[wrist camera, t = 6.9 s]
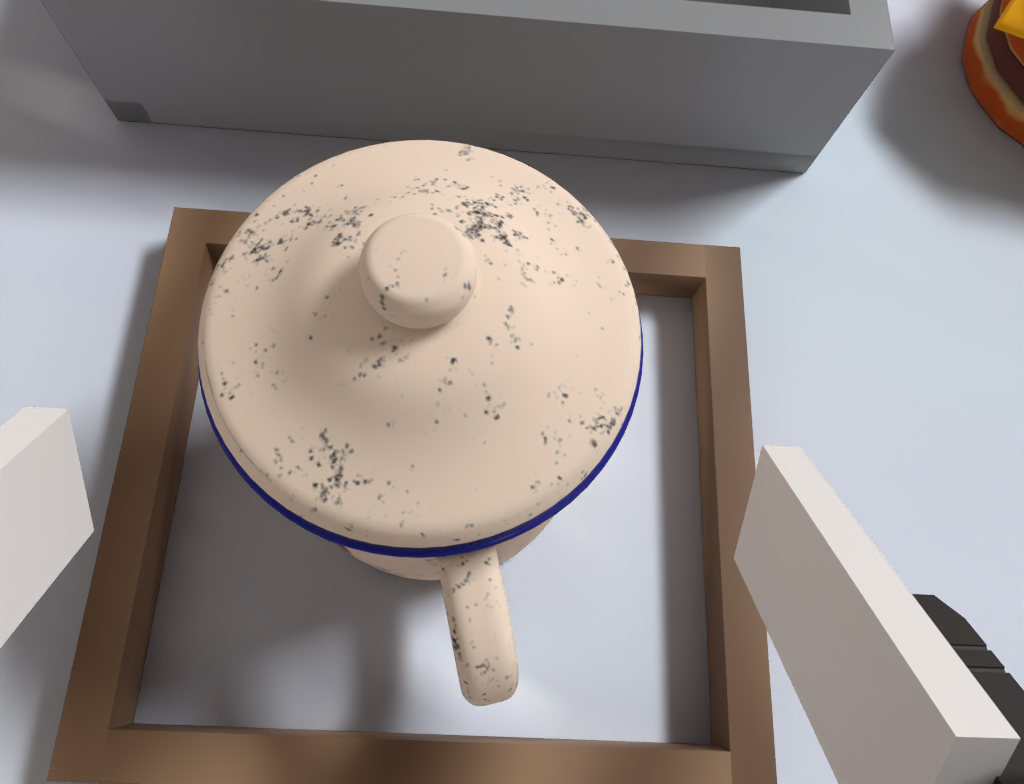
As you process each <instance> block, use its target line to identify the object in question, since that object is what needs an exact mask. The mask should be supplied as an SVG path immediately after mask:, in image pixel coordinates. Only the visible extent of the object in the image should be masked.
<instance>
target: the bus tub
mask: <svg viewBox="0 0 1024 784" xmlns="http://www.w3.org/2000/svg"><path fill="white" fill-rule="evenodd" d="M41 2H42V3H43V5H44V6H45V8H46V9H47V11H48V13H49V14H50V16H51V17H52V19H53V20H54V22H55V23H56V25H57V26H58V28H59V29H60V31H61V33H62V34H63V36H64V37H65V39H66V40H67V42H68V43H69V45H70V46H71V48H72V50H73V51H74V53H75V54H76V56H77V57H78V59H79V60H80V62H81V63H82V65H83V67H84V68H85V70H86V71H87V73H88V74H89V76H90V77H91V79H92V80H93V82H94V83H95V85H96V87H97V88H98V90H99V91H100V93H101V94H102V96H103V97H104V99H105V100H106V102H107V104H108V105H109V107H110V108H111V110H112V111H113V113H114V114H115V116H116V117H117V119H118V120H124V121H137V122H150V123H163V124H176V125H189V126H202V127H215V128H228V129H241V130H254V131H267V132H280V133H293V134H306V135H319V136H332V137H345V138H358V139H371V140H385V141H406V140H435V141H448V142H455V143H462V144H468V145H472V146H476V147H480V148H489V149H502V150H515V151H528V152H541V153H554V154H567V155H580V156H593V157H606V158H619V159H632V160H645V161H658V162H671V163H684V164H697V165H710V166H723V167H736V168H749V169H762V170H775V171H788V172H801V173H805V172H806V171H807V170H808V168H809V167H810V166H811V164H812V163H813V161H814V160H815V159H816V157H817V156H818V155H819V153H820V152H821V151H822V149H823V148H824V146H825V145H826V144H827V142H828V141H829V140H830V138H831V137H832V135H833V134H834V133H835V131H836V130H837V129H838V127H839V126H840V124H841V123H842V122H843V120H844V119H845V118H846V116H847V115H848V114H849V112H850V111H851V109H852V108H853V107H854V105H855V104H856V103H857V101H858V100H859V98H860V97H861V96H862V94H863V93H864V92H865V90H866V89H867V87H868V86H869V85H870V83H871V82H872V81H873V79H874V78H875V77H876V75H877V74H878V72H879V71H880V70H881V68H882V67H883V66H884V64H885V63H886V61H887V60H888V59H889V57H890V56H891V55H892V53H893V52H894V50H895V47H894V41H893V35H892V29H891V23H890V17H889V11H888V5H887V0H41Z"/></svg>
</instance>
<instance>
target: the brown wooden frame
mask: <svg viewBox="0 0 1024 784" xmlns="http://www.w3.org/2000/svg"><path fill="white" fill-rule="evenodd" d="M250 214H251V213H248V212H234V211H220V210H206V209H192V208H178V207H174V211H173V216H172V220H171V225H170V229H169V234H168V238H167V243H166V247H165V252H164V256H163V261H162V265H161V270H160V274H159V279H158V283H157V288H156V292H155V297H154V302H153V306H152V311H151V315H150V320H149V324H148V329H147V333H146V338H145V342H144V347H143V351H142V356H141V360H140V365H139V369H138V374H137V378H136V383H135V387H134V392H133V396H132V401H131V405H130V410H129V414H128V419H127V423H126V428H125V432H124V437H123V441H122V446H121V450H120V455H119V459H118V464H117V468H116V473H115V477H114V482H113V486H112V491H111V496H110V500H109V505H108V509H107V514H106V518H105V523H104V527H103V532H102V536H101V541H100V545H99V550H98V554H97V559H96V563H95V568H94V572H93V577H92V581H91V586H90V590H89V595H88V599H87V604H86V608H85V613H84V617H83V622H82V626H81V631H80V635H79V640H78V644H77V649H76V653H75V658H74V662H73V667H72V671H71V676H70V680H69V685H68V690H67V694H66V699H65V703H64V708H63V712H62V717H61V721H60V726H59V730H58V735H57V739H56V744H55V748H54V753H53V757H52V762H51V766H50V771H49V775H48V780H47V781H71V782H101V783H132V784H777V775H776V761H775V746H774V732H773V718H772V703H771V689H770V675H769V660H768V646H767V631H766V626H765V624H764V622H763V620H762V618H761V616H760V614H759V611H758V609H757V607H756V605H755V603H754V601H753V599H752V596H751V594H750V592H749V590H748V588H747V586H746V584H745V581H744V579H743V577H742V575H741V573H740V571H739V568H738V566H737V564H736V562H735V560H734V555H735V551H736V547H737V543H738V539H739V535H740V531H741V527H742V524H743V520H744V516H745V512H746V508H747V504H748V500H749V496H750V492H751V488H752V484H753V481H754V477H755V459H754V445H753V430H752V416H751V402H750V387H749V373H748V358H747V344H746V330H745V315H744V301H743V287H742V272H741V258H740V248H739V247H725V246H711V245H697V244H683V243H669V242H655V241H641V240H627V239H613V238H610V240H611V241H612V243H613V245H614V246H615V248H616V250H617V251H618V253H619V255H620V257H621V259H622V261H623V264H624V266H625V268H626V270H627V272H628V275H629V278H630V281H631V284H632V286H633V289H634V294H642V295H657V296H671V297H686V298H692V305H693V328H694V350H695V373H696V395H697V418H698V441H699V463H700V486H701V508H702V531H703V553H704V576H705V598H706V621H707V644H708V666H709V689H710V711H711V734H712V745H707V744H680V743H652V742H625V741H598V740H571V739H544V738H516V737H489V736H462V735H435V734H407V733H380V732H353V731H326V730H299V729H271V728H244V727H217V726H190V725H163V724H135V723H133V720H134V714H135V709H136V704H137V699H138V694H139V688H140V683H141V678H142V673H143V668H144V662H145V657H146V652H147V647H148V641H149V636H150V631H151V626H152V621H153V615H154V610H155V605H156V600H157V595H158V589H159V584H160V579H161V574H162V569H163V563H164V558H165V553H166V548H167V542H168V537H169V532H170V527H171V522H172V516H173V511H174V506H175V501H176V496H177V490H178V485H179V480H180V475H181V470H182V464H183V459H184V454H185V449H186V443H187V438H188V433H189V428H190V423H191V417H192V412H193V407H194V402H195V397H196V391H197V386H198V381H199V373H198V336H199V323H200V317H201V312H202V306H203V302H204V298H205V295H206V291H207V288H208V285H209V282H210V280H211V277H212V275H213V272H214V270H215V267H216V265H217V263H218V261H219V259H220V258H221V256H222V254H223V252H224V250H225V248H226V247H227V245H228V244H229V242H230V241H231V239H232V238H233V236H234V235H235V233H236V232H237V230H238V229H239V228H240V226H241V225H242V224H243V223H244V222H245V220H246V219H247V218H248V217H249V216H250Z"/></svg>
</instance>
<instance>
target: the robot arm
mask: <svg viewBox="0 0 1024 784" xmlns="http://www.w3.org/2000/svg"><path fill="white" fill-rule="evenodd" d="M93 531H94V527H93V523H92V518H91V513H90V508H89V504H88V499H87V494H86V489H85V485H84V480H83V475H82V470H81V466H80V461H79V456H78V451H77V447H76V442H75V437H74V432H73V427H72V423H71V418H70V413H69V409H63V408H44V407H25V408H23V409H22V410H21V411H20V412H18V413H17V414H16V415H15V416H13V417H12V418H11V419H10V420H8V421H7V422H6V423H5V424H3V425H2V426H1V427H0V648H1V647H2V646H3V644H4V643H5V642H6V641H7V639H8V638H9V637H10V636H11V634H12V633H13V632H14V631H15V629H16V628H17V627H18V626H19V624H20V623H21V622H22V621H23V619H24V618H25V617H26V616H27V614H28V613H29V612H30V610H31V609H32V608H33V607H34V605H35V604H36V603H37V602H38V600H39V599H40V598H41V597H42V595H43V594H44V593H45V592H46V590H47V589H48V588H49V587H50V585H51V584H52V583H53V582H54V580H55V579H56V578H57V577H58V575H59V574H60V573H61V572H62V570H63V569H64V568H65V567H66V565H67V564H68V563H69V562H70V560H71V559H72V558H73V556H74V555H75V554H76V553H77V551H78V550H79V549H80V548H81V546H82V545H83V544H84V543H85V541H86V540H87V539H88V538H89V536H90V535H91V534H92V533H93ZM734 560H735V562H736V564H737V566H738V568H739V571H740V573H741V575H742V577H743V579H744V581H745V584H746V586H747V588H748V590H749V592H750V594H751V596H752V599H753V601H754V603H755V605H756V607H757V609H758V611H759V614H760V616H761V618H762V620H763V622H764V624H765V626H766V629H767V631H768V633H769V635H770V637H771V639H772V642H773V644H774V646H775V648H776V650H777V652H778V654H779V657H780V659H781V661H782V663H783V665H784V667H785V669H786V672H787V674H788V676H789V678H790V680H791V682H792V685H793V687H794V689H795V691H796V693H797V695H798V697H799V700H800V702H801V704H802V706H803V708H804V710H805V712H806V715H807V717H808V719H809V721H810V723H811V725H812V727H813V730H814V732H815V734H816V736H817V738H818V740H819V743H820V745H821V747H822V749H823V751H824V753H825V755H826V758H827V760H828V762H829V764H830V766H831V768H832V770H833V773H834V775H835V777H836V779H837V781H838V783H839V784H1024V690H1023V689H1022V688H1021V687H1020V686H1019V684H1018V683H1017V682H1016V681H1015V679H1014V678H1013V677H1012V676H1011V674H1010V673H1005V670H1004V668H1005V667H1004V666H1003V665H1002V663H1001V662H1000V661H999V660H998V659H997V657H996V656H995V655H994V654H993V652H992V651H991V650H987V648H986V646H987V645H986V644H985V643H984V641H983V640H982V639H981V638H980V636H979V635H978V634H977V633H976V631H975V630H974V629H973V628H972V627H971V625H970V624H969V623H968V622H967V620H966V619H965V618H964V617H962V616H961V615H960V614H958V613H957V612H956V611H954V610H953V609H952V608H950V607H949V606H948V605H946V604H945V603H944V602H942V601H941V600H940V599H938V598H937V597H936V596H934V595H920V594H911V592H910V591H909V590H908V588H907V587H906V586H905V584H904V583H903V582H902V580H901V579H900V578H899V576H898V575H897V574H896V573H895V571H894V570H893V569H892V567H891V566H890V565H889V563H888V562H887V561H886V559H885V558H884V557H883V555H882V554H881V553H880V551H879V550H878V549H877V547H876V546H875V545H874V543H873V542H872V541H871V539H870V538H869V537H868V535H867V534H866V533H865V531H864V530H863V529H862V527H861V526H860V525H859V523H858V522H857V521H856V519H855V518H854V517H853V515H852V514H851V513H850V511H849V510H848V509H847V507H846V506H845V505H844V503H843V502H842V501H841V500H840V498H839V497H838V496H837V494H836V493H835V492H834V490H833V489H832V488H831V486H830V485H829V484H828V482H827V481H826V480H825V478H824V477H823V476H822V474H821V473H820V472H819V470H818V469H817V468H816V466H815V465H814V464H813V462H812V461H811V460H810V458H809V457H808V456H807V454H806V453H805V452H804V450H803V449H802V448H801V447H793V446H773V445H762V449H761V453H760V457H759V461H758V465H757V469H756V473H755V477H754V481H753V484H752V488H751V492H750V496H749V500H748V504H747V508H746V512H745V516H744V520H743V524H742V527H741V531H740V535H739V539H738V543H737V547H736V551H735V555H734Z"/></svg>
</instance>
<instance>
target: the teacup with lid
mask: <svg viewBox="0 0 1024 784" xmlns="http://www.w3.org/2000/svg"><path fill="white" fill-rule="evenodd" d="M642 363H643V334H642V327H641V320H640V314H639V310H638V306H637V301H636V297H635V294H634V289H633V286H632V284H631V281H630V278H629V275H628V272H627V270H626V268H625V266H624V264H623V261H622V259H621V257H620V255H619V253H618V251H617V250H616V248H615V246H614V245H613V243H612V241H611V240H610V238H609V237H608V235H607V234H606V233H605V231H604V230H603V229H602V227H601V226H600V224H599V223H598V222H597V221H596V220H595V218H594V217H593V216H592V215H591V214H590V213H589V212H588V211H587V209H586V208H585V207H584V206H583V205H582V204H581V203H579V202H578V201H577V200H576V199H575V198H574V197H573V196H572V195H571V194H570V193H569V192H567V191H566V190H565V189H563V188H562V187H561V186H559V185H558V184H557V183H556V182H554V181H553V180H551V179H550V178H548V177H547V176H545V175H544V174H542V173H540V172H539V171H537V170H535V169H533V168H531V167H530V166H528V165H526V164H524V163H522V162H520V161H517V160H515V159H513V158H510V157H508V156H506V155H503V154H500V153H497V152H494V151H491V150H488V149H484V148H480V147H476V146H472V145H468V144H462V143H455V142H448V141H435V140H406V141H396V142H387V143H381V144H376V145H370V146H366V147H363V148H359V149H355V150H351V151H348V152H346V153H343V154H340V155H337V156H334V157H332V158H329V159H327V160H325V161H323V162H321V163H319V164H316V165H314V166H312V167H311V168H309V169H307V170H305V171H304V172H302V173H300V174H298V175H297V176H295V177H294V178H292V179H291V180H289V181H288V182H286V183H285V184H284V185H282V186H281V187H280V188H278V189H277V190H276V191H275V192H273V193H272V194H271V195H270V196H269V197H267V198H266V199H265V200H264V201H263V202H262V203H261V204H260V205H259V206H258V207H257V208H256V209H255V210H254V211H253V212H252V213H251V214H250V216H249V217H248V218H247V219H246V220H245V222H244V223H243V224H242V225H241V226H240V228H239V229H238V230H237V232H236V233H235V235H234V236H233V238H232V239H231V241H230V242H229V244H228V245H227V247H226V248H225V250H224V252H223V254H222V256H221V258H220V259H219V261H218V263H217V265H216V267H215V270H214V272H213V275H212V277H211V280H210V282H209V285H208V288H207V291H206V295H205V298H204V302H203V306H202V312H201V317H200V323H199V336H198V373H199V379H200V386H201V393H202V396H203V400H204V404H205V408H206V412H207V415H208V417H209V420H210V422H211V425H212V428H213V430H214V433H215V435H216V437H217V438H218V440H219V442H220V444H221V446H222V448H223V450H224V452H225V454H226V455H227V456H228V458H229V459H230V461H231V462H232V464H233V465H234V467H235V468H236V470H237V471H238V472H239V474H240V475H241V476H242V477H243V478H244V480H245V481H246V482H247V483H248V484H249V485H250V487H251V488H252V489H253V490H254V491H255V492H256V493H257V494H258V495H259V496H261V497H262V498H263V499H264V500H265V501H266V502H267V503H268V504H269V505H270V506H272V507H273V508H274V509H276V510H277V511H278V512H280V513H281V514H282V515H284V516H285V517H286V518H288V519H289V520H291V521H293V522H294V523H296V524H297V525H299V526H301V527H302V528H304V529H306V530H307V531H310V532H312V533H314V534H316V535H318V536H320V537H322V538H324V539H326V540H329V541H332V542H334V543H336V544H338V545H339V546H340V547H341V548H343V549H344V550H345V551H346V552H348V553H349V554H350V555H352V556H353V557H355V558H357V559H358V560H360V561H361V562H363V563H365V564H367V565H369V566H371V567H373V568H375V569H377V570H380V571H383V572H386V573H389V574H392V575H396V576H400V577H404V578H410V579H418V580H441V586H442V591H443V597H444V602H445V608H446V613H447V619H448V624H449V629H450V635H451V640H452V646H453V651H454V656H455V662H456V667H457V672H458V677H459V682H460V687H461V692H462V694H463V696H464V697H465V699H466V700H467V701H468V702H469V703H471V704H472V705H475V706H485V705H489V704H494V703H498V702H501V701H504V700H507V699H509V698H510V697H511V696H512V695H513V694H514V692H515V691H516V688H517V685H518V664H517V656H516V650H515V643H514V637H513V631H512V626H511V620H510V615H509V610H508V605H507V600H506V595H505V590H504V585H503V581H502V576H501V571H500V566H499V564H501V563H503V562H504V561H506V560H508V559H509V558H511V557H512V556H514V555H516V554H517V553H518V552H520V551H521V550H522V549H523V548H525V547H526V546H527V545H528V544H529V543H531V542H532V541H533V540H534V539H535V538H536V537H537V536H538V535H539V534H540V532H541V531H542V530H543V529H544V528H545V527H546V525H547V524H548V523H549V521H550V520H551V519H552V517H553V516H554V515H555V514H557V513H558V512H559V511H561V510H562V509H563V508H564V507H566V506H567V505H568V504H570V503H571V502H572V501H573V500H574V499H575V498H576V497H577V496H578V495H579V494H580V493H581V492H583V491H584V490H585V489H586V488H587V487H588V486H589V484H590V483H591V482H592V481H593V480H594V479H595V477H596V476H597V475H598V474H599V473H600V471H601V470H602V469H603V468H604V466H605V465H606V463H607V462H608V460H609V459H610V457H611V456H612V454H613V453H614V451H615V450H616V448H617V446H618V444H619V442H620V440H621V438H622V437H623V435H624V433H625V430H626V428H627V425H628V423H629V421H630V418H631V416H632V413H633V410H634V406H635V403H636V399H637V396H638V392H639V386H640V381H641V375H642Z"/></svg>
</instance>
